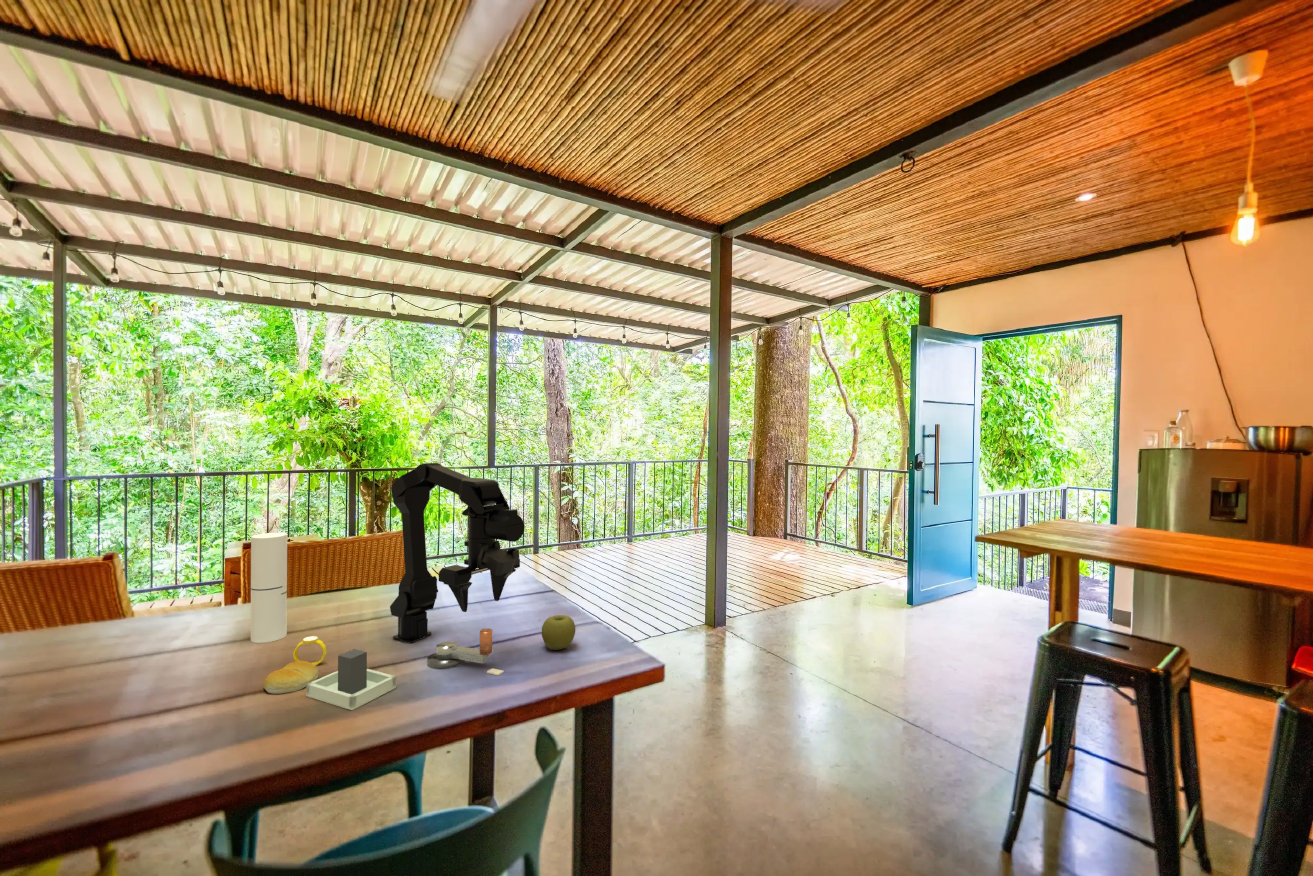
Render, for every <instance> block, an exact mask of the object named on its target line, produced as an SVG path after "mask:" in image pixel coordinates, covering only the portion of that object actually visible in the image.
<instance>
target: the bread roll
mask: <svg viewBox="0 0 1313 876" xmlns="http://www.w3.org/2000/svg"><path fill="white" fill-rule="evenodd" d="M319 675H320V674H319V670H318V667H317V666H315V665H313V664H312V662H310V661H306V660H300V661H292V662H290V663H287V664H286V665H285V666H284V667H282V668H280V669H277V670H273V671H272V672H271V673H269V674H268V675H267V676H266V677H265V679H264V681H263V688H264V690H265V691H266V692H267V693H268V694H273V695H281V694H286V693H292V692H296V691H300V690H302V689H304V688H306V684H308V683H310V682H313V681H315V680H317V679H319Z"/></svg>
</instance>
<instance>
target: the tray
mask: <svg viewBox="0 0 1313 876" xmlns="http://www.w3.org/2000/svg"><path fill="white" fill-rule="evenodd" d="M305 688H306V690H305V691H306V693H305V694H306V695H305V696H306V697H308V698H311V699H314V700H318V701H320V702H324V703H327V704H331V705H333V706H337V707H340V708H343V709H346V710H350V711H354V710H356V709H357V708H360V707H362V706H364V705H366V704H368V703H369V702H371V701H373V700H375V699H377V698H379V697H381V696H382V695H384V694H387V693H389V692H391V691H392V690H395V689H396V688H397V676H396V675H393V674H388V673H385V672H382V671H377V670H374V669H371V668H367V687H366V688H364V689H362V690H360V691H358V692H356V693H354V694H352V695H351V694H348V693H345V692H341V691H338V670H337V671H334V672H332V673H330V674H327V675H325V676H322V677H321V678H317V679H316V680H315V681H313V682H310V683H308V684H306V687H305Z"/></svg>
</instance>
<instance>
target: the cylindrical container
mask: <svg viewBox="0 0 1313 876" xmlns="http://www.w3.org/2000/svg"><path fill="white" fill-rule="evenodd" d="M250 538H251V539H250V542H251V543H250V642H251V643H254V644H265V643H271V642H275V641H279V640H281V639H283V638H285V637H286V636H287V631H288V630H287V627H288V625H287V624H288V623H287V617H288V616H287V612H288V611H287V610H288V606H287V605H288V602H287V601H288V595H287V594H288V593H287V592H288V533H286V532H265V533H258V534H254V535H252V536H250Z"/></svg>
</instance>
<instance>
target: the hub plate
mask: <svg viewBox="0 0 1313 876" xmlns="http://www.w3.org/2000/svg"><path fill="white" fill-rule="evenodd" d="M426 661H427V662H426V663H427V667H429V668H431V669H435V670H437V669H438V670H446V669H451V668H455V667H459V666H460V665H462V664H464V663H465V662H466V660H461V659H454V658H451V659H438V658H436V652H433V653H432V654H430V655H429V656H428V657H427V660H426Z"/></svg>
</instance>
